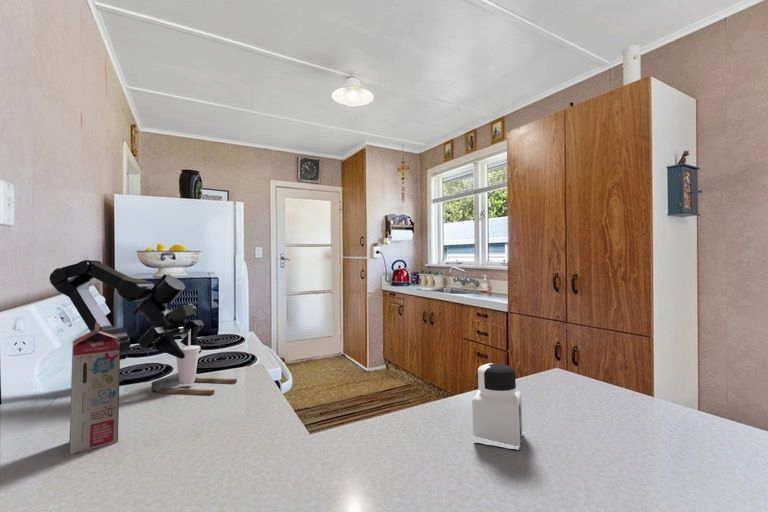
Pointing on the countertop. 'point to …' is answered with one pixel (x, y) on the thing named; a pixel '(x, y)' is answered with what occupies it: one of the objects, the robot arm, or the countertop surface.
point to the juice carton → (94, 390)
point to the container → (497, 405)
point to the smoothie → (188, 363)
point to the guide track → (173, 380)
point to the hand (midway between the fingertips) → (192, 355)
